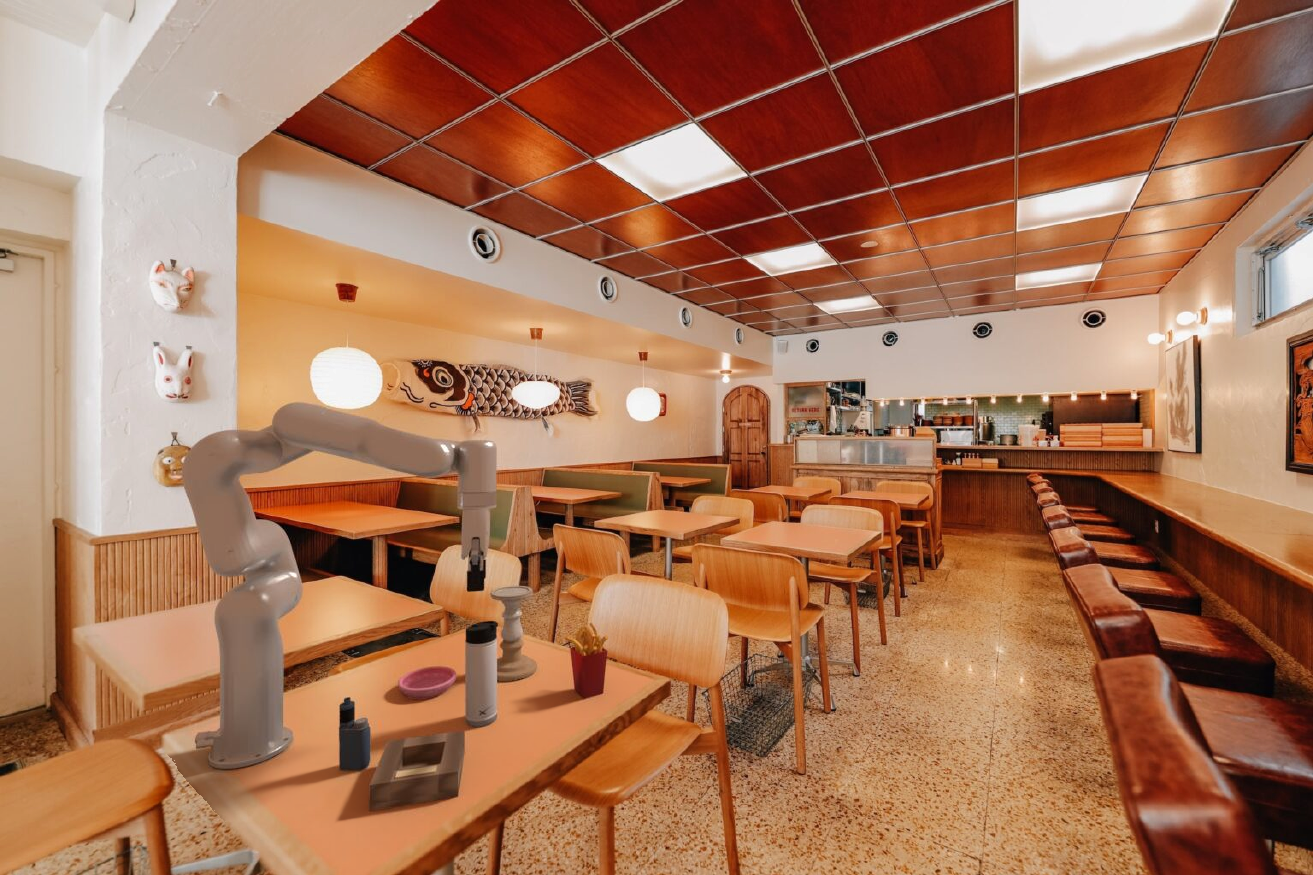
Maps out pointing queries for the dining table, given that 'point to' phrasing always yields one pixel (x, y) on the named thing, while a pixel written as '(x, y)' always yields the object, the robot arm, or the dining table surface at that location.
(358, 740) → the vaping device
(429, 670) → the saucer
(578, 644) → the french fries
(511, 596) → the candle holder
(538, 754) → the dining table surface
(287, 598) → the robot arm
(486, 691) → the travel mug
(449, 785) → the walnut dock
